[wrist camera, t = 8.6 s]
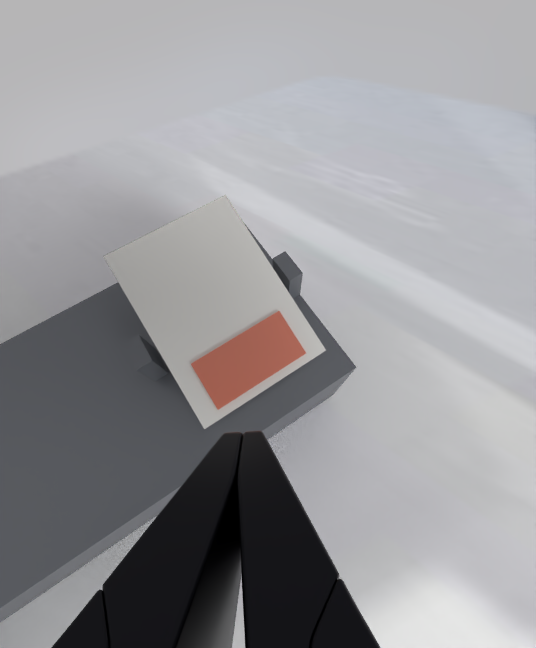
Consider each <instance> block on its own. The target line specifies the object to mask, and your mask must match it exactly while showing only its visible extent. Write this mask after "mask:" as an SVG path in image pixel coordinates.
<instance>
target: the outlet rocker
mask: <svg viewBox="0 0 536 648" xmlns="http://www.w3.org/2000/svg"><path fill="white" fill-rule="evenodd" d="M103 257H104V259H105V260H106V262H107V264H108V265H109V267H110V269H111V271H112V272H113V274H114V276H115V277H116V279H117V281H118V283H119V284H120V286H121V288H122V289H123V291H124V293H125V294H126V296H127V298H128V300H129V301H130V303H131V305H132V306H133V308H134V310H135V312H136V313H137V315H138V317H139V318H140V320H141V322H142V324H143V325H144V327H145V329H146V330H147V332H148V334H149V336H150V337H151V339H152V341H153V342H154V344H155V346H156V347H157V349H158V351H159V353H160V354H161V356H162V358H163V359H164V361H165V363H166V365H167V366H168V368H169V370H170V371H171V373H172V375H173V377H174V378H175V380H176V382H177V383H178V385H179V387H180V389H181V390H182V392H183V394H184V395H185V397H186V399H187V401H188V402H189V404H190V406H191V407H192V409H193V411H194V412H195V414H196V416H197V418H198V419H199V421H200V423H201V424H202V426H203V428H204V429H206V428H207V427H209V426H210V425H212V424H213V423H215V422H217V421H218V420H220V419H221V418H223V417H224V416H226V415H227V414H229V413H230V412H232V411H233V410H235V409H237V408H238V407H240V406H241V405H243V404H244V403H246V402H247V401H249V400H250V399H252V398H254V397H255V396H257V395H258V394H260V393H261V392H263V391H264V390H266V389H267V388H269V387H270V386H272V385H274V384H275V383H277V382H278V381H280V380H281V379H283V378H284V377H286V376H287V375H289V374H290V373H292V372H294V371H295V370H297V369H298V368H300V367H301V366H303V365H304V364H306V363H307V362H309V361H310V360H312V359H314V358H315V357H317V356H318V355H320V354H321V353H323V352H324V351H326V349H325V348H324V346H323V345H322V343H321V341H320V340H319V338H318V337H317V335H316V334H315V332H314V331H313V329H312V328H311V326H310V325H309V323H308V321H307V320H306V318H305V317H304V315H303V314H302V312H301V311H300V309H299V308H298V306H297V304H296V303H295V301H294V300H293V298H292V297H291V295H290V294H289V292H288V291H287V289H286V287H285V286H284V284H283V283H282V281H281V280H280V278H279V277H278V275H277V274H276V272H275V270H274V269H273V267H272V266H271V264H270V263H269V261H268V260H267V258H266V257H265V255H264V253H263V252H262V250H261V249H260V247H259V246H258V244H257V243H256V241H255V240H254V238H253V236H252V235H251V233H250V232H249V230H248V229H247V227H246V226H245V224H244V223H243V221H242V220H241V218H240V216H239V215H238V213H237V212H236V210H235V209H234V207H233V206H232V204H231V203H230V201H229V199H228V198H227V196H226V195H224V196H222V197H220V198H218V199H216V200H214V201H212V202H210V203H208V204H206V205H204V206H202V207H200V208H198V209H196V210H194V211H192V212H190V213H188V214H186V215H184V216H182V217H180V218H178V219H176V220H174V221H172V222H170V223H169V224H167V225H165V226H163V227H161V228H159V229H157V230H155V231H153V232H151V233H149V234H147V235H145V236H143V237H141V238H139V239H137V240H135V241H133V242H131V243H129V244H127V245H125V246H123V247H121V248H119V249H117V250H115V251H113V252H111V253H109V254H107V255H105V256H103Z"/></svg>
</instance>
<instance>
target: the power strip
mask: <svg viewBox="0 0 536 648" xmlns="http://www.w3.org/2000/svg"><path fill="white" fill-rule="evenodd" d="M243 223H244V222H243ZM245 226H246V225H245ZM246 227H247V226H246ZM247 229H248V228H247ZM248 230H249V229H248ZM249 232H250V233H251V231H250V230H249ZM251 235H252V236H253V238H254V240H255V241H256V243H257V244H258V246H259V247H260V249H261V250H262V252H263V253H264V255H265V257H266V258H267V260H268V261H269V263H270V264H271V266H272V267H273V269H274V270H275V272H276V274H277V275H278V277H279V278H280V280H281V281H282V283H283V284H284V286H285V287H286V289H287V291H288V292H289V294H290V295H291V297H292V298H293V300H294V301H295V303H296V304H297V306H298V308H299V309H300V311H301V312H302V314H303V315H304V317H305V318H306V320H307V321H308V323H309V325H310V326H311V328H312V329H313V331H314V332H315V334H316V335H317V337H318V338H319V340H320V341H321V343H322V345H323V346H324V348H325V349H326V351H324V352H323V353H321V354H320V355H318V356H317V357H315V358H314V359H312V360H310V361H309V362H307V363H306V364H304V365H303V366H301V367H300V368H298V369H297V370H295V371H294V372H292V373H290V374H289V375H287V376H286V377H284V378H283V379H281V380H280V381H278V382H277V383H275V384H274V385H272V386H270V387H269V388H267V389H266V390H264V391H263V392H261V393H260V394H258V395H257V396H255V397H254V398H252V399H250V400H249V401H247V402H246V403H244V404H243V405H241V406H240V407H238V408H237V409H235V410H233V411H232V412H230V413H229V414H227V415H226V416H224V417H223V418H221V419H220V420H218V421H217V422H215V423H213V424H212V425H210V426H209V427H207V428H206V429H204V428H203V426H202V424H201V423H200V421H199V419H198V418H197V416H196V414H195V412H194V411H193V409H192V407H191V406H190V404H189V402H188V401H187V399H186V397H185V395H184V394H183V392H182V390H181V389H180V387H179V385H178V383H177V382H176V380H175V378H174V377H173V375H172V373H171V371H170V370H169V368H168V366H167V365H166V363H165V361H164V359H163V358H162V356H161V354H160V353H159V351H158V349H157V347H156V346H155V344H154V342H153V341H152V339H151V337H150V336H149V334H148V332H147V330H146V329H145V327H144V325H143V324H142V322H141V320H140V318H139V317H138V315H137V313H136V312H135V310H134V308H133V306H132V305H131V303H130V301H129V300H128V298H127V296H126V294H125V293H124V291H123V289H122V288H121V286H120V284H119V283H116V284H114V285H112V286H111V287H109V288H107V289H105V290H103V291H101V292H99V293H97V294H95V295H93V296H91V297H90V298H88V299H86V300H84V301H82V302H80V303H78V304H76V305H74V306H72V307H70V308H69V309H67V310H65V311H63V312H61V313H59V314H57V315H55V316H53V317H51V318H49V319H48V320H46V321H44V322H42V323H40V324H38V325H36V326H34V327H32V328H30V329H29V330H27V331H25V332H23V333H21V334H19V335H17V336H15V337H13V338H11V339H9V340H8V341H6V342H4V343H2V344H0V622H2V621H3V620H5V619H6V618H7V617H9V616H10V615H12V614H13V613H15V612H16V611H18V610H19V609H21V608H22V607H24V606H25V605H26V604H28V603H29V602H31V601H32V600H34V599H35V598H37V597H38V596H40V595H41V594H42V593H44V592H45V591H47V590H48V589H50V588H51V587H53V586H54V585H56V584H57V583H59V582H60V581H61V580H63V579H64V578H66V577H67V576H69V575H70V574H72V573H73V572H75V571H76V570H78V569H79V568H80V567H82V566H83V565H85V564H86V563H88V562H89V561H91V560H92V559H94V558H95V557H97V556H98V555H99V554H101V553H102V552H104V551H105V550H107V549H108V548H110V547H111V546H113V545H114V544H116V543H117V542H118V541H120V540H121V539H123V538H124V537H126V536H127V535H129V534H130V533H132V532H133V531H135V530H136V529H137V528H139V527H140V526H142V525H143V524H145V523H146V522H148V521H149V520H151V519H152V518H154V517H155V516H156V515H158V514H159V513H160V512H161V511H162V510H163V508H164V507H165V506H166V505H167V503H168V502H169V501H170V500H171V498H172V497H173V496H174V495H175V493H176V492H177V491H178V490H179V488H180V487H181V486H182V485H183V483H184V482H185V481H186V480H187V478H188V477H189V476H190V474H191V473H192V472H193V471H194V469H195V468H196V467H197V466H198V464H199V463H200V462H201V461H202V459H203V458H204V457H205V456H206V454H207V453H208V452H209V451H210V449H211V448H212V447H213V446H214V444H215V443H216V442H217V441H218V439H219V438H220V437H221V436H222V434H224V433H226V432H241V433H242V434H244V432H246V431H262V432H263V433H264V435H265V437H266V439H269V438H270V437H272V436H273V435H275V434H276V433H278V432H279V431H281V430H282V429H284V428H285V427H286V426H288V425H289V424H291V423H292V422H294V421H295V420H297V419H298V418H300V417H301V416H303V415H304V414H305V413H307V412H308V411H310V410H311V409H313V408H314V407H316V406H317V405H319V404H320V403H322V402H323V401H324V400H326V399H327V398H329V397H330V396H332V395H333V394H334V393H335V392H336V391H337V389H338V388H339V387H340V386H341V385H342V384H343V382H344V381H345V380H346V379H347V378H348V377H349V375H350V374H351V373H352V372H353V371H354V370H355V368H356V366H355V365H354V364H353V362H352V361H351V360H350V359H349V357H348V356H347V355H346V353H345V352H344V351H343V350H342V348H341V347H340V346H339V344H338V343H337V342H336V341H335V339H334V338H333V337H332V335H331V334H330V333H329V332H328V330H327V329H326V328H325V326H324V325H323V324H322V323H321V321H320V320H319V319H318V317H317V316H316V315H315V314H314V312H313V311H312V310H311V308H310V307H309V306H308V305H307V303H306V302H305V301H304V299H303V298H302V297H301V296H300V290H301V282H302V274H303V273H302V272H301V270H300V269H299V268H298V267H297V265H296V264H295V263H294V262H293V260H292V259H291V258H290V257H289V255H288V254H287V253H286V252H283V253H281V254H280V255H278V256H276V257H274V258H273V260H272V258H271V257H270V256H269V254H268V253H267V252H266V251H265V249H264V248H263V247H262V245H261V244H260V243H259V242H258V240H257V239H256V238H255V237H254V235H253V234H252V233H251Z"/></svg>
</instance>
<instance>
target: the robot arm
mask: <svg viewBox="0 0 536 648" xmlns="http://www.w3.org/2000/svg"><path fill="white" fill-rule="evenodd" d="M241 572H242V590H243V609H244V628H245V647H246V648H380V646H379V644H378V643H377V641H376V639H375V637H374V636H373V634H372V632H371V630H370V629H369V627H368V625H367V623H366V622H365V620H364V618H363V616H362V615H361V613H360V611H359V609H358V608H357V606H356V604H355V602H354V600H353V598H352V597H351V595H350V593H349V591H348V589H347V587H346V585H345V584H344V582H343V580H342V579H339V573H338V571H337V569H336V567H335V565H334V564H333V562H332V560H331V558H330V556H329V554H328V552H327V551H326V549H325V547H324V545H323V543H322V541H321V539H320V538H319V536H318V534H317V532H316V530H315V528H314V526H313V525H312V523H311V521H310V519H309V517H308V515H307V513H306V511H305V510H304V508H303V506H302V504H301V502H300V500H299V498H298V497H297V495H296V493H295V491H294V489H293V487H292V485H291V484H290V482H289V480H288V478H287V476H286V474H285V472H284V471H283V469H282V467H281V465H280V463H279V461H278V459H277V458H276V456H275V454H274V452H273V450H272V448H271V446H270V444H269V443H268V441H267V439H266V437H265V435H264V433H263V432H262V431H246V432H244V434H242V433H241V432H226V433H224V434H222V436H221V437H220V438H219V439H218V441H217V442H216V443H215V444H214V446H213V447H212V448H211V449H210V451H209V452H208V453H207V454H206V456H205V457H204V458H203V459H202V461H201V462H200V463H199V464H198V466H197V467H196V468H195V469H194V471H193V472H192V473H191V474H190V476H189V477H188V478H187V480H186V481H185V482H184V483H183V485H182V486H181V487H180V488H179V490H178V491H177V492H176V493H175V495H174V496H173V497H172V498H171V500H170V501H169V502H168V503H167V505H166V506H165V507H164V508H163V510H162V511H161V512H160V513H159V515H158V516H157V517H156V519H155V520H154V521H153V522H152V524H151V525H150V526H149V527H148V529H147V530H146V531H145V532H144V534H143V535H142V536H141V537H140V539H139V540H138V541H137V542H136V544H135V545H134V546H133V547H132V549H131V550H130V551H129V552H128V554H127V555H126V556H125V558H124V559H123V560H122V561H121V563H120V564H119V565H118V566H117V568H116V569H115V570H114V571H113V573H112V574H111V575H110V576H109V578H108V579H107V580H106V581H105V583H104V584H103V591H102V590H98V591H97V592H96V594H95V595H94V596H93V597H92V599H91V600H90V601H89V602H88V604H87V605H86V606H85V607H84V609H83V610H82V611H81V612H80V614H79V615H78V616H77V618H76V619H75V620H74V621H73V622H72V624H71V625H70V626H69V627H68V628H67V630H66V631H65V632H64V633H63V634H62V636H61V637H60V638H59V639H58V641H57V642H56V643H55V644H54V645H53V647H52V648H232V641H233V634H234V626H235V618H236V611H237V603H238V595H239V588H240V580H241Z"/></svg>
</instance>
